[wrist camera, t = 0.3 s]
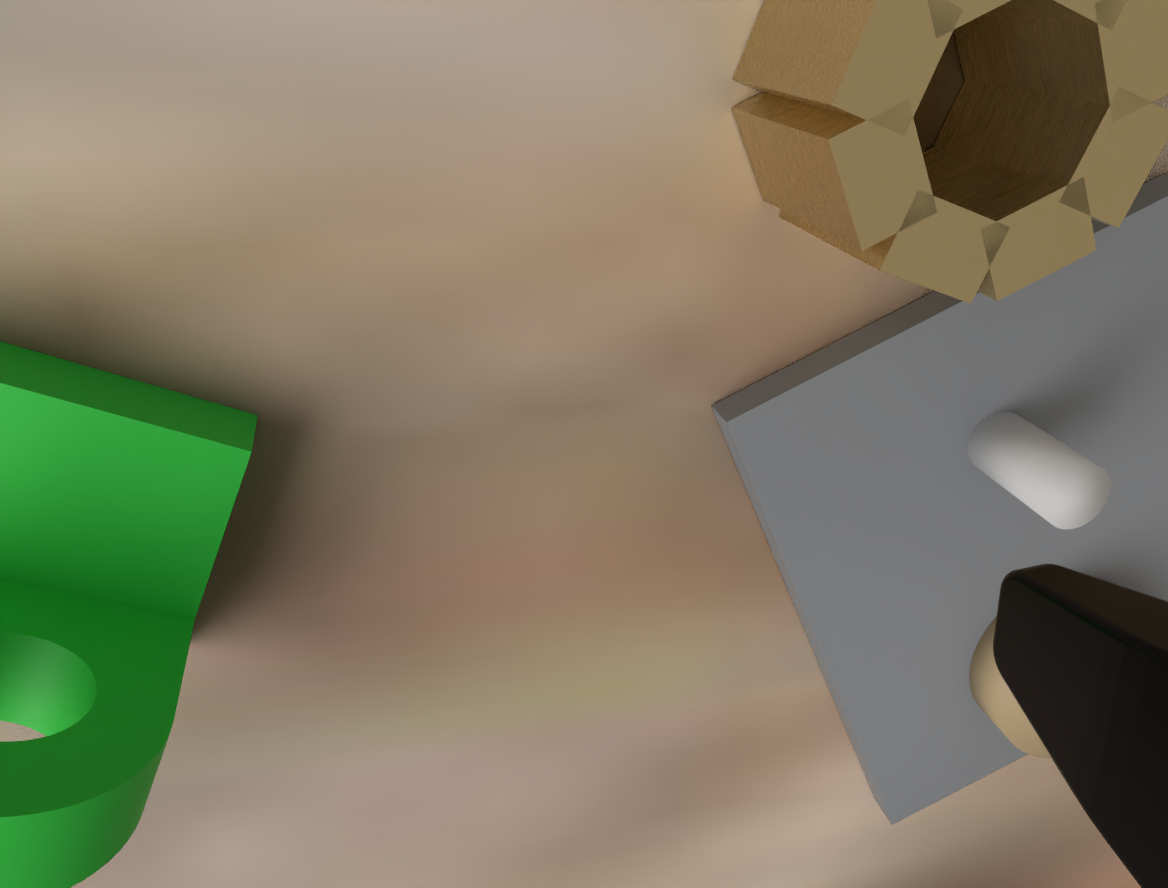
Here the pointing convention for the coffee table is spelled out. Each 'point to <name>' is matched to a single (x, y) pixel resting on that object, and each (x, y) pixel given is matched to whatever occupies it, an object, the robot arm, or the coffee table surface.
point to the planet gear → (956, 130)
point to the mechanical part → (98, 596)
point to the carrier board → (963, 492)
